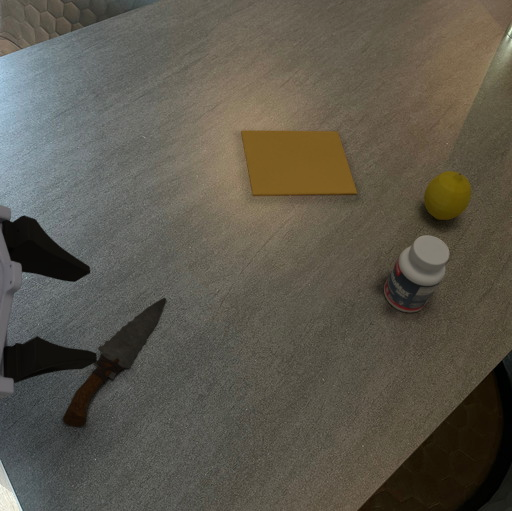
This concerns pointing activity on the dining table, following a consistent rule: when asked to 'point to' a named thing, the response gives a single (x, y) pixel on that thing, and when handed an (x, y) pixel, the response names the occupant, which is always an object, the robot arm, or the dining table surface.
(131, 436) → the dining table surface
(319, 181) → the cloth
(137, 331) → the knife
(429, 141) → the dining table surface
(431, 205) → the fruit
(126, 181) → the dining table surface
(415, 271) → the pill bottle
